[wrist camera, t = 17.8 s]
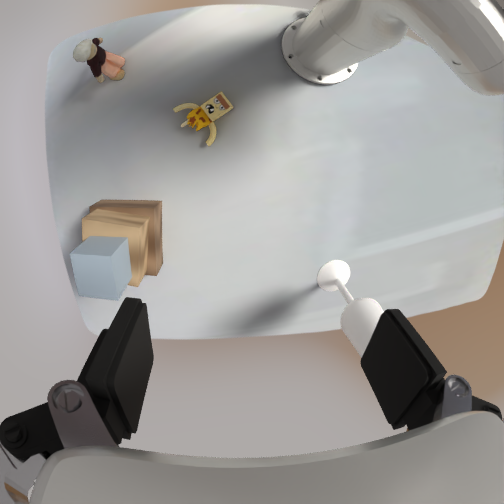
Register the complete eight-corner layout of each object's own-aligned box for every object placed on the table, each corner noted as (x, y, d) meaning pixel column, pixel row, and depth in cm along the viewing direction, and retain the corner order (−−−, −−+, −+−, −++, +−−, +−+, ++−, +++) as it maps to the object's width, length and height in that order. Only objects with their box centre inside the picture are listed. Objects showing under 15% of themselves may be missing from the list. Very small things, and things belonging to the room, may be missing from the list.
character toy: (166, 110, 33) (212, 78, 32) (171, 112, 36) (213, 82, 34) (198, 153, 36) (245, 121, 34) (201, 152, 39) (244, 122, 37)
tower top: (96, 208, 36) (81, 218, 32) (150, 216, 38) (139, 228, 33) (97, 261, 40) (84, 275, 35) (146, 270, 41) (137, 287, 36)
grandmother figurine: (132, 79, 33) (97, 61, 21) (111, 90, 33) (71, 78, 21) (121, 43, 30) (87, 18, 18) (101, 54, 30) (63, 35, 18)
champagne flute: (323, 296, 51) (371, 394, 29) (312, 269, 48) (364, 367, 26) (353, 281, 50) (415, 370, 28) (345, 253, 48) (415, 340, 26)
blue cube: (90, 235, 33) (69, 253, 27) (127, 237, 33) (110, 256, 28) (96, 274, 35) (78, 295, 30) (132, 277, 36) (118, 300, 30)
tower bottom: (102, 199, 41) (89, 206, 36) (162, 200, 42) (154, 208, 37) (107, 258, 45) (96, 270, 40) (163, 262, 46) (156, 275, 42)
